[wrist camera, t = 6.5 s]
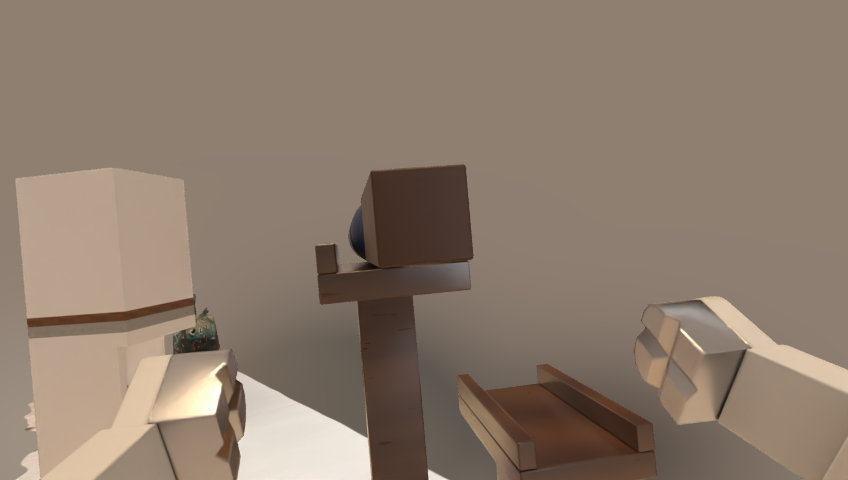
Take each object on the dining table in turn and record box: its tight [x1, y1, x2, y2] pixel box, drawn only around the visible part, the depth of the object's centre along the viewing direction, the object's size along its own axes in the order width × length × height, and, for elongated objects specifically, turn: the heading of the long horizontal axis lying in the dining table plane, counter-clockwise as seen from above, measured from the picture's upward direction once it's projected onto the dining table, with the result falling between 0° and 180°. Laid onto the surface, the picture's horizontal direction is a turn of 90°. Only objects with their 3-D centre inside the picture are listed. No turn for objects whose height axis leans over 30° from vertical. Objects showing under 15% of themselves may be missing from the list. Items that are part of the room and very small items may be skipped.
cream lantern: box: [15, 167, 196, 478], centre depth 57 cm, size 11×11×35 cm
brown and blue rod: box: [348, 164, 473, 268], centre depth 24 cm, size 23×3×3 cm, turn 9°
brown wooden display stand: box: [315, 243, 657, 480], centre depth 28 cm, size 12×14×26 cm
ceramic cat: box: [173, 294, 220, 355], centre depth 88 cm, size 20×6×20 cm, turn 29°
